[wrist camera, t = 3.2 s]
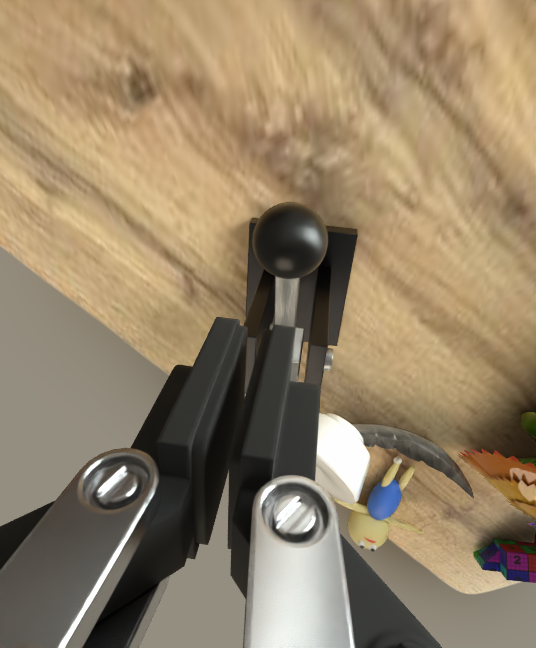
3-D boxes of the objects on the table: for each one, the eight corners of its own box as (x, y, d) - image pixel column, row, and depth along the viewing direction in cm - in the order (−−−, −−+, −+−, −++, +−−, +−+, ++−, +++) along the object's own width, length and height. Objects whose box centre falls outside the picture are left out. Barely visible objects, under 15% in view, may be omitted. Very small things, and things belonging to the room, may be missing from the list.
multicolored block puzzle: (548, 563, 48) (546, 521, 49) (573, 586, 43) (570, 539, 43) (473, 556, 50) (472, 515, 50) (488, 577, 44) (486, 532, 45)
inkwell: (266, 441, 44) (323, 373, 48) (403, 567, 41) (450, 485, 45) (286, 428, 35) (353, 347, 39) (459, 585, 33) (511, 482, 37)
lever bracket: (252, 217, 32) (213, 288, 23) (357, 229, 32) (364, 306, 22) (247, 326, 38) (214, 421, 28) (336, 338, 37) (335, 440, 27)
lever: (258, 182, 18) (244, 237, 16) (335, 189, 17) (329, 247, 16) (262, 339, 29) (254, 382, 27) (310, 345, 28) (304, 389, 27)
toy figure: (411, 456, 42) (389, 431, 47) (334, 495, 42) (318, 466, 46) (436, 529, 46) (413, 500, 50) (365, 567, 45) (348, 534, 50)
